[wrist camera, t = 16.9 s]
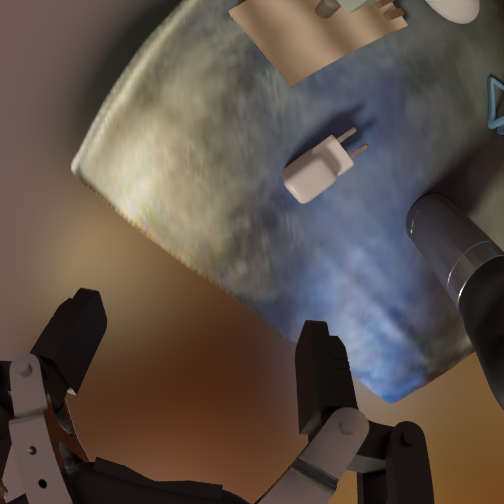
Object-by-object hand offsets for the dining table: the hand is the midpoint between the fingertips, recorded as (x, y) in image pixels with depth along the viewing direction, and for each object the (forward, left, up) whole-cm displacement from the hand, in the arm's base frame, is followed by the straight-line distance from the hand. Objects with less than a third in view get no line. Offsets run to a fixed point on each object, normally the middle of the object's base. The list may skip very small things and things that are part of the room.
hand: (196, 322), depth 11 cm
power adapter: (-10, 0, -30) cm, 32 cm away
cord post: (-7, -19, -30) cm, 36 cm away
